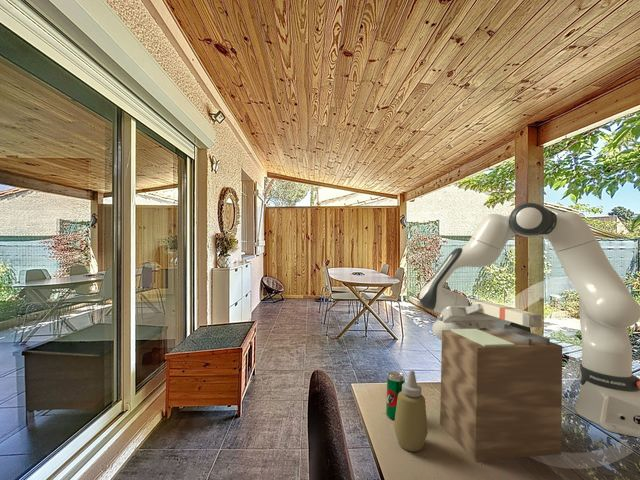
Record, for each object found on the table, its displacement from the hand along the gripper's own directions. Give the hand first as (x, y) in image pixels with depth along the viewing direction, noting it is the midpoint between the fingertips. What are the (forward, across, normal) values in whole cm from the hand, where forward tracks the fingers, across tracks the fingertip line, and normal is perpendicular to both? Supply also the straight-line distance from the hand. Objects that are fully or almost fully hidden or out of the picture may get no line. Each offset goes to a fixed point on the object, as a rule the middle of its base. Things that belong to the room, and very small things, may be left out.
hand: (487, 306), depth 94 cm
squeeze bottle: (-6, -30, +34) cm, 46 cm away
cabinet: (-6, -6, +34) cm, 35 cm away
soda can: (-17, -29, +28) cm, 43 cm away
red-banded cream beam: (+4, 0, +5) cm, 7 cm away
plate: (+7, -11, +11) cm, 17 cm away
